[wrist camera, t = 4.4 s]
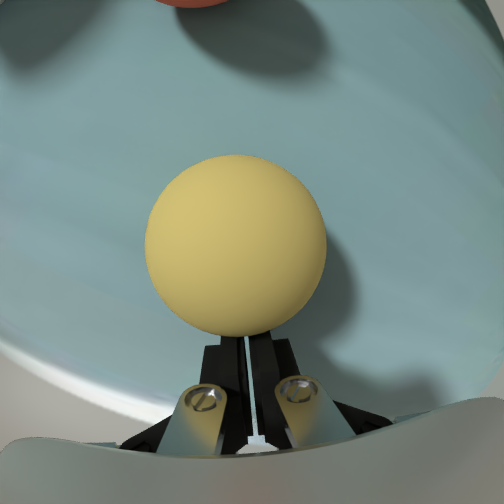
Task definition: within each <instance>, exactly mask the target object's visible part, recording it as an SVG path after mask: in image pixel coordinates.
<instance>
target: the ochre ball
mask: <svg viewBox="0 0 504 504" xmlns="http://www.w3.org/2000/svg"><path fill="white" fill-rule="evenodd" d="M326 251H327V243H326V231H325V226H324V221H323V218H322V215H321V212H320V210H319V208H318V206H317V204H316V202H315V200H314V199H313V197H312V196H311V194H310V192H309V191H308V190H307V189H306V187H305V186H304V185H303V184H302V183H301V182H300V181H299V180H298V179H297V178H296V177H295V176H294V175H292V174H291V173H290V172H288V171H287V170H285V169H284V168H282V167H280V166H278V165H277V164H274V163H272V162H270V161H267V160H265V159H261V158H258V157H253V156H247V155H224V156H219V157H214V158H211V159H207V160H204V161H202V162H200V163H197V164H195V165H193V166H191V167H190V168H188V169H186V170H185V171H183V172H182V173H181V174H179V175H178V176H177V177H176V178H175V179H173V180H172V181H171V182H170V183H169V184H168V186H167V187H166V188H165V189H164V191H163V192H162V193H161V195H160V197H159V198H158V200H157V201H156V203H155V205H154V207H153V209H152V212H151V214H150V217H149V220H148V224H147V229H146V235H145V257H146V264H147V268H148V271H149V275H150V277H151V280H152V282H153V284H154V287H155V289H156V291H157V292H158V294H159V295H160V297H161V299H162V300H163V301H164V302H165V304H166V305H167V306H168V307H169V308H170V309H171V310H172V311H173V312H174V313H175V314H176V315H177V316H178V317H180V318H181V319H183V320H184V321H186V322H187V323H188V324H190V325H192V326H194V327H196V328H198V329H200V330H202V331H205V332H208V333H211V334H215V335H220V336H227V337H243V336H252V335H256V334H260V333H264V332H266V331H269V330H271V329H274V328H276V327H277V326H279V325H281V324H283V323H285V322H286V321H288V320H289V319H290V318H292V317H293V316H294V315H296V314H297V313H298V312H299V311H300V310H301V309H302V308H303V307H304V306H305V304H306V303H307V302H308V300H309V299H310V298H311V296H312V295H313V293H314V291H315V289H316V287H317V286H318V284H319V281H320V279H321V276H322V273H323V270H324V266H325V261H326Z"/></svg>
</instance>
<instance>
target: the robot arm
mask: <svg viewBox="0 0 504 504" xmlns="http://www.w3.org/2000/svg"><path fill="white" fill-rule="evenodd" d="M248 338H249V349H250V359H251V369H252V379H253V388H254V398H255V407H256V417H257V426H258V435H265V442H266V443H269V444H271V445H273V446H275V447H277V451H270V452H260V453H248V454H238V450H239V449H241V448H242V447H243V446H245V445H247V444H248V436H253V425H252V414H251V403H250V391H249V379H248V368H247V359H246V350H245V341H244V336H243V337H227V336H221V342H220V345H209V346H205V349H204V355H203V362H202V369H201V376H200V383H199V385H194V386H192V387H190V388H188V389H187V390H185V391H184V392H183V393H182V395H181V396H180V398H179V400H178V403H177V405H176V407H175V410H174V412H173V414H172V415H171V416H169V417H167V418H166V419H164V420H162V421H160V422H159V423H157V424H155V425H154V426H152V427H150V428H148V429H146V430H145V431H143V432H141V433H139V434H137V435H135V436H133V437H131V438H130V439H128V440H126V441H125V442H124V443H122V445H119V446H118V445H117V444H116V443H115V442H113V443H80V442H75V441H69V440H63V439H55V438H42V437H36V438H35V437H34V438H23V439H18V440H15V441H13V442H11V443H9V444H8V445H7V446H6V447H5V448H4V449H3V450H2V451H1V452H0V504H504V400H503V399H500V398H496V397H481V398H474V399H468V400H464V401H460V402H456V403H453V404H450V405H447V406H443V407H440V408H438V409H435V410H433V411H429V412H424V413H418V414H413V415H407V416H400V417H395V420H394V421H390V420H389V419H387V418H384V417H382V416H379V415H376V414H372V413H369V412H366V411H363V410H360V409H357V408H354V407H351V406H348V405H345V404H342V403H339V402H336V401H334V400H332V399H331V398H330V396H329V395H328V393H327V392H326V390H325V389H324V388H323V386H322V385H321V383H320V382H319V381H318V380H316V379H314V378H312V377H309V376H302V375H300V372H299V369H298V366H297V363H296V360H295V357H294V354H293V351H292V348H291V345H290V342H289V340H288V339H278V340H272V338H271V334H270V330H269V331H266V332H264V333H260V334H256V335H252V336H248Z"/></svg>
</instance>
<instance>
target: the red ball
mask: <svg viewBox="0 0 504 504" xmlns="http://www.w3.org/2000/svg"><path fill="white" fill-rule="evenodd" d="M156 1H158V2H161V3H164V4H167V5H170V6H175V7H184V8H199V7H207V6H212V5H216V4H220V3H223V2H226V1H228V0H156Z"/></svg>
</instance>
